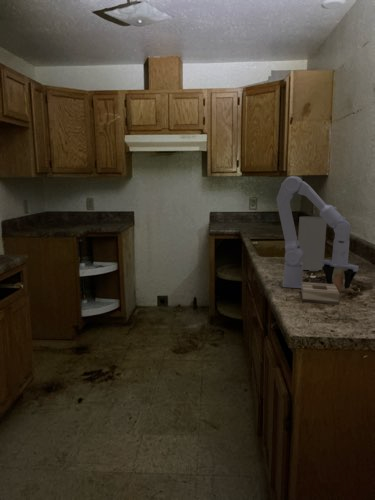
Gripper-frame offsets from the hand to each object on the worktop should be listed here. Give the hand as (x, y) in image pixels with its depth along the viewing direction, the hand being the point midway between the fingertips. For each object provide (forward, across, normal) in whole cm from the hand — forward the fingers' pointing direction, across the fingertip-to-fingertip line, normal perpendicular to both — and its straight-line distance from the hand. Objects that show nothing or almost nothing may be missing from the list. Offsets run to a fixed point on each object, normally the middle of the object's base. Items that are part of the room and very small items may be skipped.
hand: (337, 285), depth 149 cm
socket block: (+2, +2, -14) cm, 15 cm away
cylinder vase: (+2, -30, +23) cm, 38 cm away
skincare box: (+2, -8, +13) cm, 15 cm away
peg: (+2, 0, 0) cm, 2 cm away
